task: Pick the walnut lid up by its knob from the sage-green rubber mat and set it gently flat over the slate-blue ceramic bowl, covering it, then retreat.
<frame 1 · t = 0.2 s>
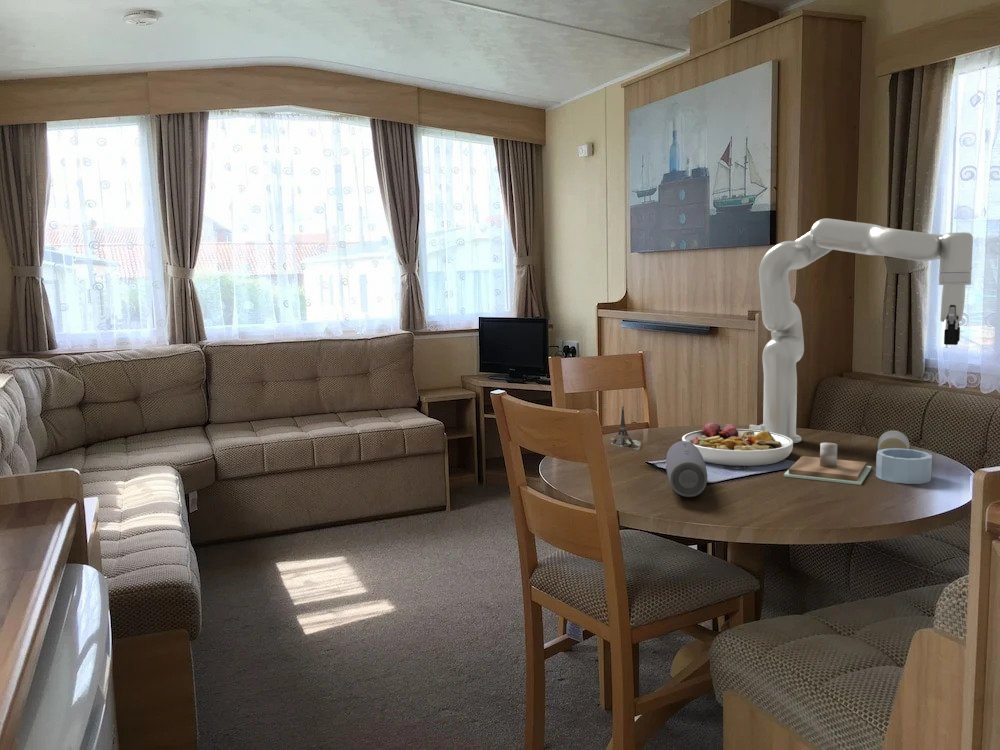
hand: (951, 343, 216), 31 cm above the table, fingers open, 9 cm apart
bowl: (736, 456, 226), on the table
green mat: (828, 472, 205), on the table
slate bowl: (903, 477, 198), on the table
bluetooth speaker: (685, 489, 193), on the table
eiffel tower figurine: (624, 446, 244), on the table
walnut lid: (828, 470, 205), point 1 cm above the table, touching green mat
ceramic mug: (898, 461, 215), on the table
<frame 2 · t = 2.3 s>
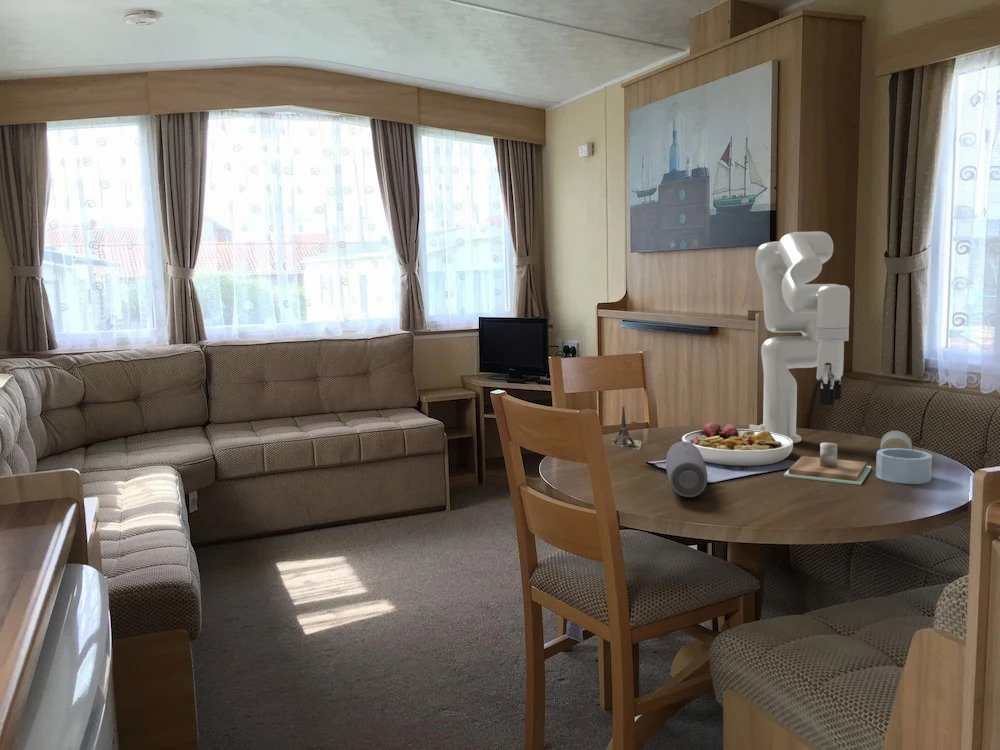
hand: (830, 401, 203), 18 cm above the table, fingers open, 9 cm apart
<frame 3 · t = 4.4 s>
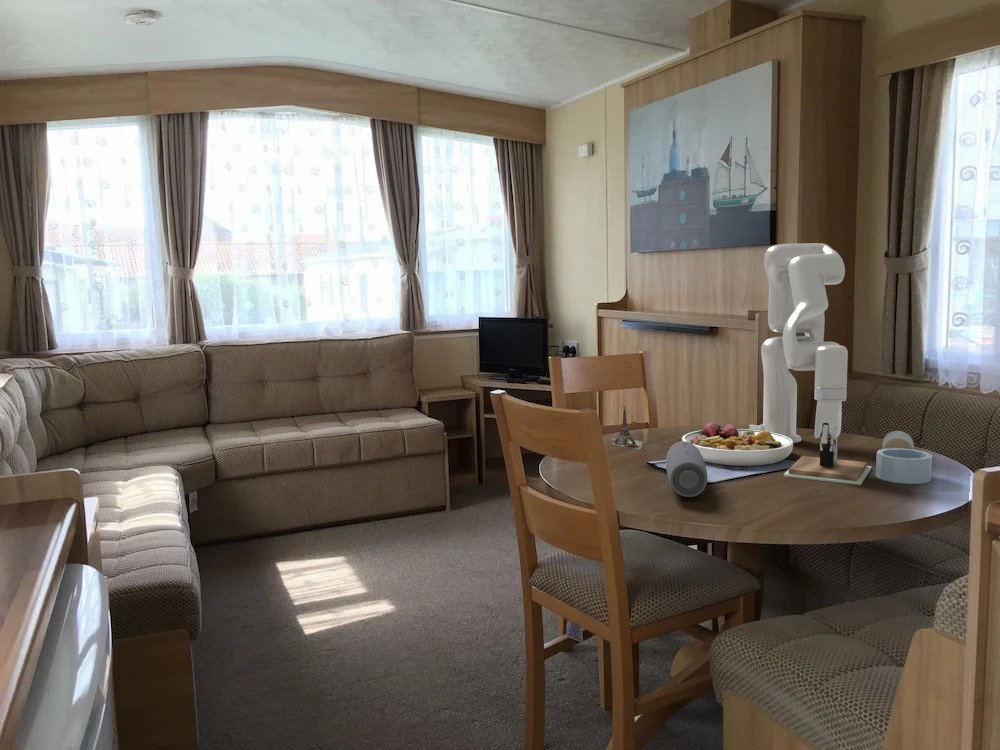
hand: (828, 463, 205), 2 cm above the table, fingers closed on walnut lid, 4 cm apart
walnut lid: (828, 470, 205), point 1 cm above the table, touching green mat, gripper
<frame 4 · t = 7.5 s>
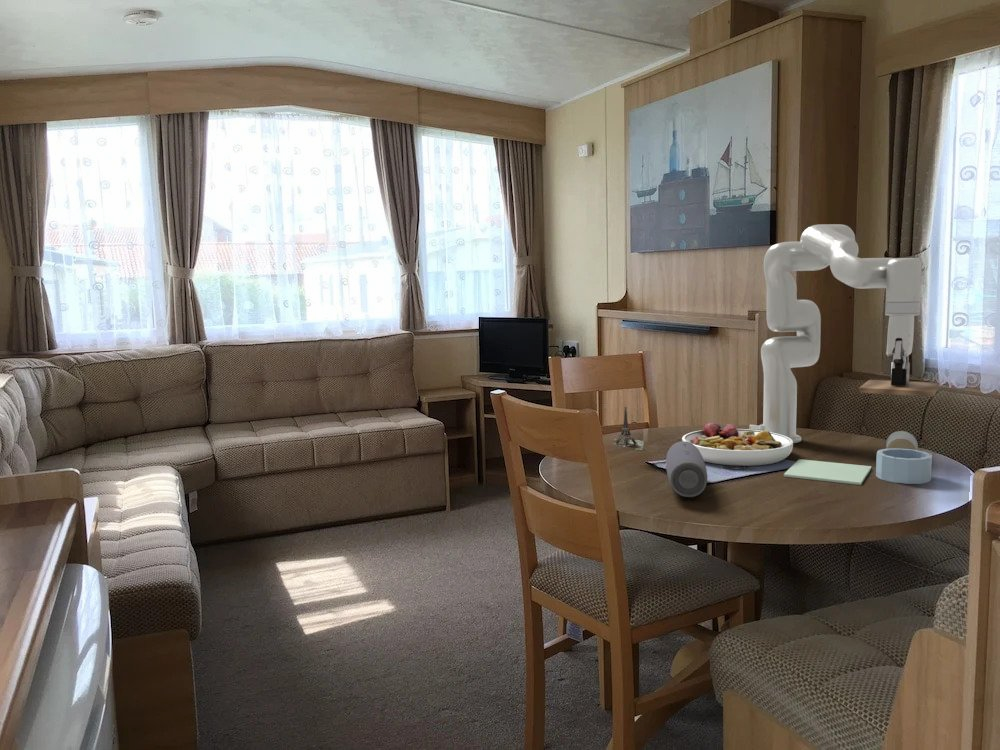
hand: (899, 383, 196), 24 cm above the table, fingers closed on walnut lid, 4 cm apart
walnut lid: (899, 390, 196), point 22 cm above the table, touching gripper
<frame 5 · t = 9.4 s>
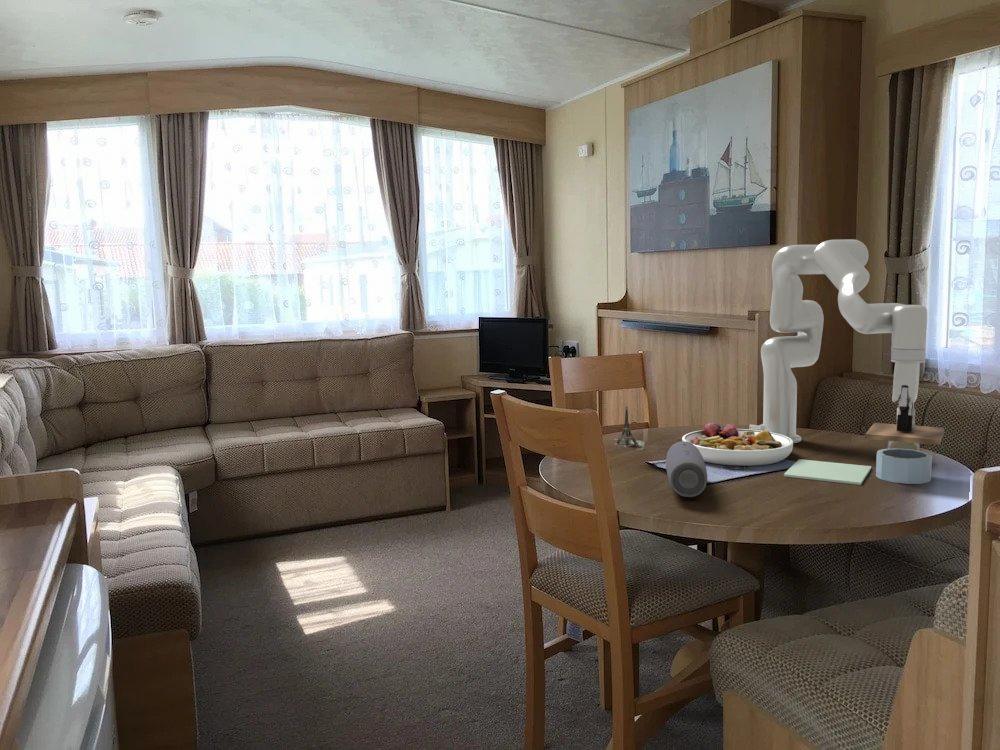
hand: (905, 428, 197), 12 cm above the table, fingers closed on walnut lid, 4 cm apart
walnut lid: (905, 435, 197), point 11 cm above the table, touching gripper
when the fingers open (8 cm above the table, at t = 10.7 s): walnut lid stays where it is, resting on slate bowl.
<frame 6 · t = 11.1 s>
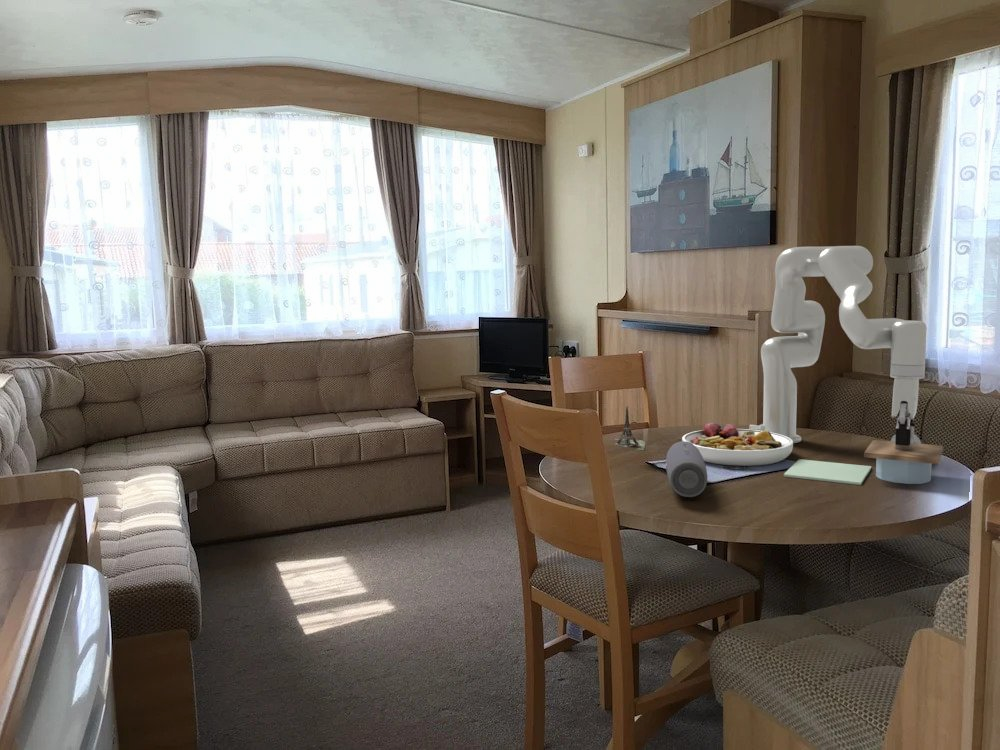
hand: (904, 441, 197), 9 cm above the table, fingers open, 8 cm apart
walnut lid: (904, 453, 198), point 6 cm above the table, touching slate bowl
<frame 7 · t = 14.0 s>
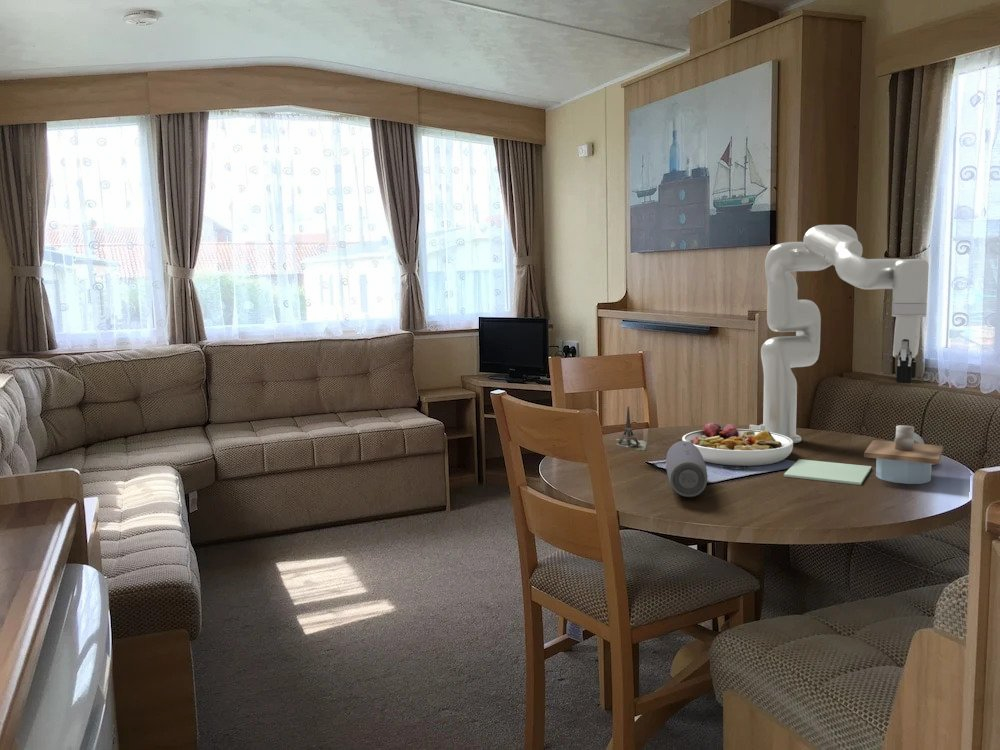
hand: (905, 380, 196), 24 cm above the table, fingers open, 9 cm apart
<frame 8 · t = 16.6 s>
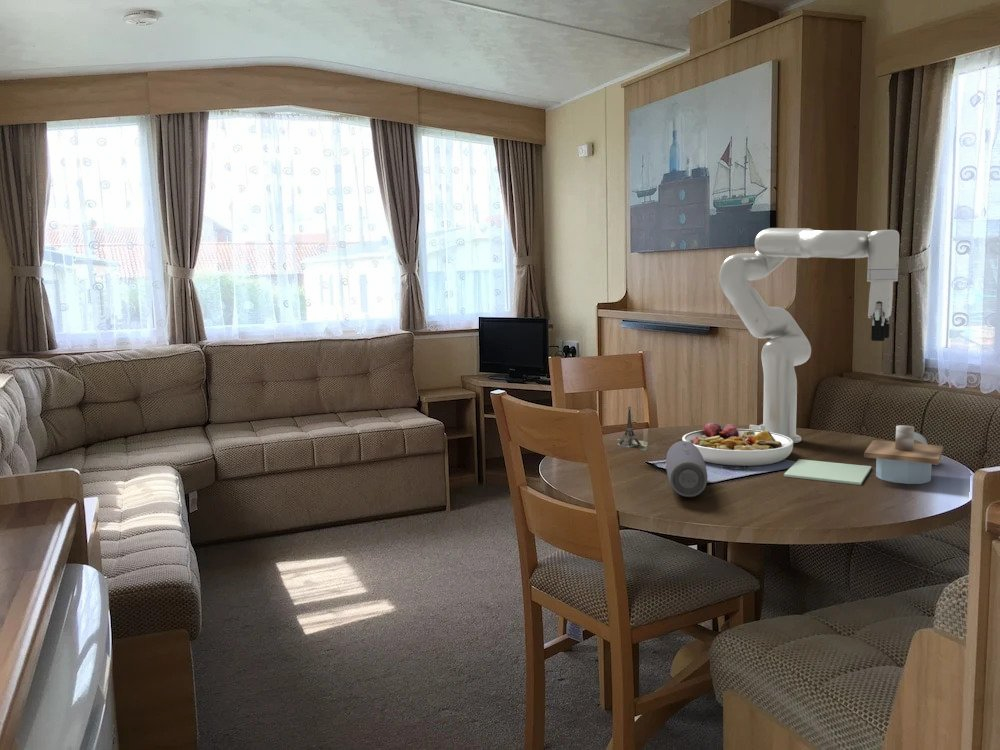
hand: (880, 339, 218), 32 cm above the table, fingers open, 9 cm apart
at the end: walnut lid 0.1 cm off-centre on the slate bowl, point 6.0 cm above the slate bowl's base; walnut lid tilted 0°; the gripper is holding nothing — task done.
